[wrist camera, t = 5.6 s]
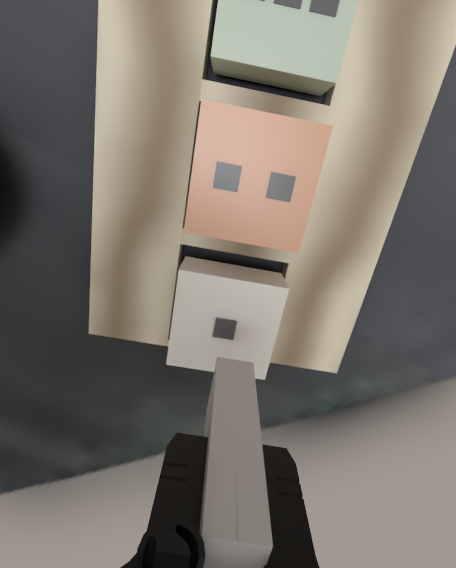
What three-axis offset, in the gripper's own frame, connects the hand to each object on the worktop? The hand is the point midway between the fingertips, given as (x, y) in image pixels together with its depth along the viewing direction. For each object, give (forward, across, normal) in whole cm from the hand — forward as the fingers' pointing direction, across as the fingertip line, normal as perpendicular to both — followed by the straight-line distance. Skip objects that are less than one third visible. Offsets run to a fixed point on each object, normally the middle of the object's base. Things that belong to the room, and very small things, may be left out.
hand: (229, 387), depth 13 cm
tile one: (+8, 0, 0) cm, 8 cm away
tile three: (+9, 0, +16) cm, 18 cm away
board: (+10, 0, +8) cm, 13 cm away
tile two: (+8, 0, +8) cm, 11 cm away
